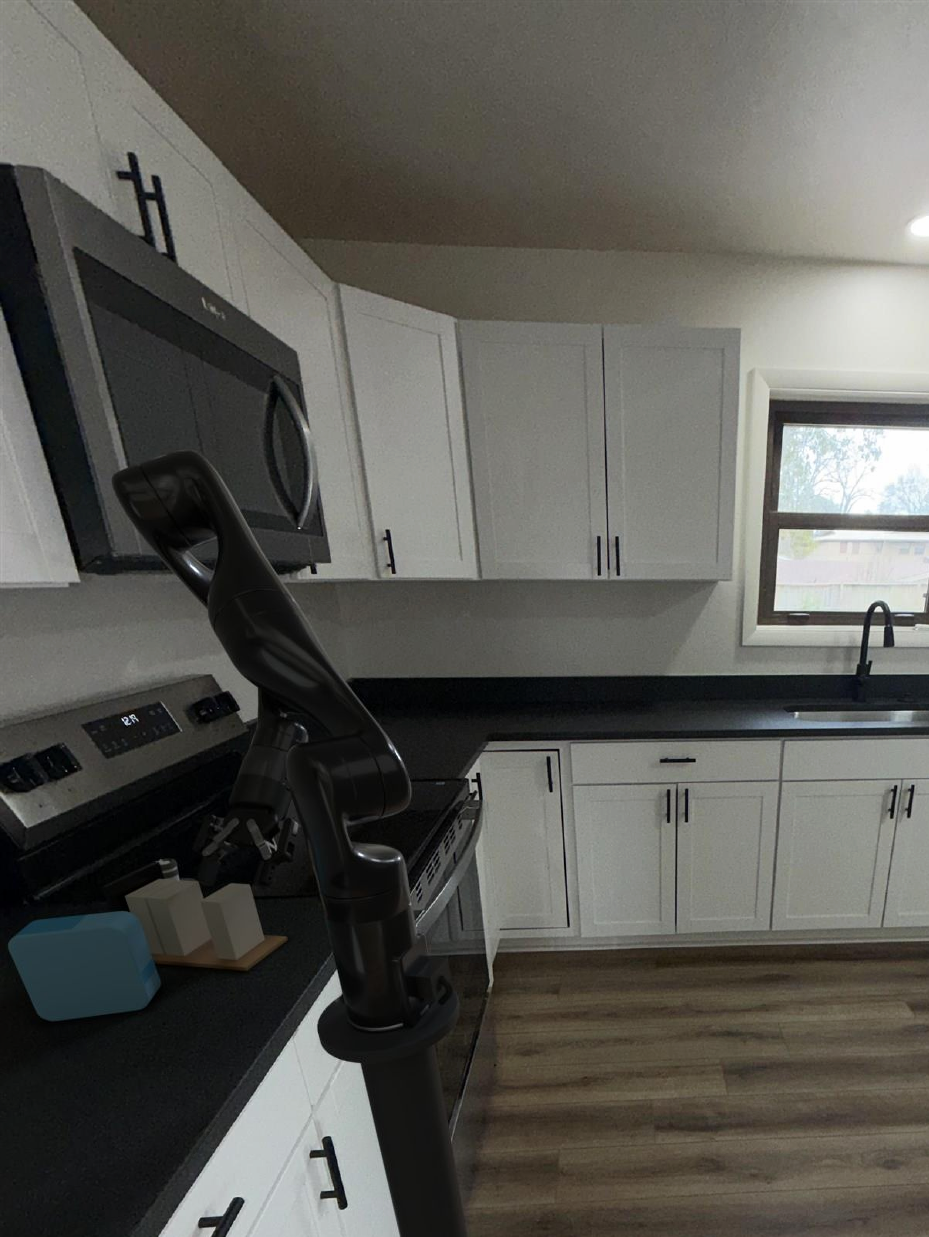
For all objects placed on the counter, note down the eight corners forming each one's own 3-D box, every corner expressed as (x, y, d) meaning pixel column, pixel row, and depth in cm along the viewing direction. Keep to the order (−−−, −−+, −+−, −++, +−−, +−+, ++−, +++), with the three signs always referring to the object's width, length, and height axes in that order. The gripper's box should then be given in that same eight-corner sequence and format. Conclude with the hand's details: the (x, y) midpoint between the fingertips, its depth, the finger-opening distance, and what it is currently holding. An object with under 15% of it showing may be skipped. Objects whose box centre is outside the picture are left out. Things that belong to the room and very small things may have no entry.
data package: (164, 990, 94) (136, 908, 89) (152, 1009, 90) (121, 924, 85) (58, 1004, 91) (22, 920, 86) (40, 1024, 87) (2, 937, 82)
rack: (288, 939, 106) (269, 868, 101) (246, 971, 98) (224, 895, 93) (177, 931, 109) (154, 861, 104) (128, 961, 101) (101, 886, 96)
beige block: (264, 939, 105) (249, 884, 101) (236, 960, 100) (219, 902, 96) (246, 938, 105) (230, 883, 102) (217, 958, 100) (199, 901, 96)
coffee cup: (173, 905, 117) (164, 877, 115) (113, 899, 119) (103, 871, 117) (228, 876, 128) (220, 850, 126) (171, 871, 130) (163, 846, 128)
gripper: (205, 769, 103) (166, 873, 97) (295, 773, 101) (261, 879, 95) (239, 794, 110) (205, 892, 104) (324, 797, 108) (294, 898, 102)
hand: (232, 885), depth 100 cm, fingers open, 8 cm apart
